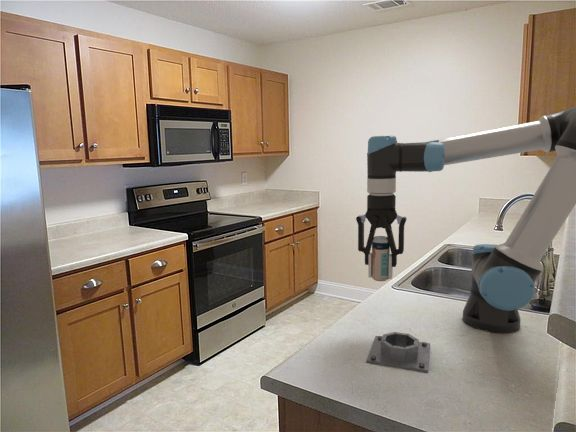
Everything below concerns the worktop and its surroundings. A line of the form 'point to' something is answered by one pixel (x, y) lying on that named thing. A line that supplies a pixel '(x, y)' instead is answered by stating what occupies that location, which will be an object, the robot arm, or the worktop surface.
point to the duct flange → (400, 352)
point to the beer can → (380, 258)
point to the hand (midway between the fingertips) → (380, 276)
